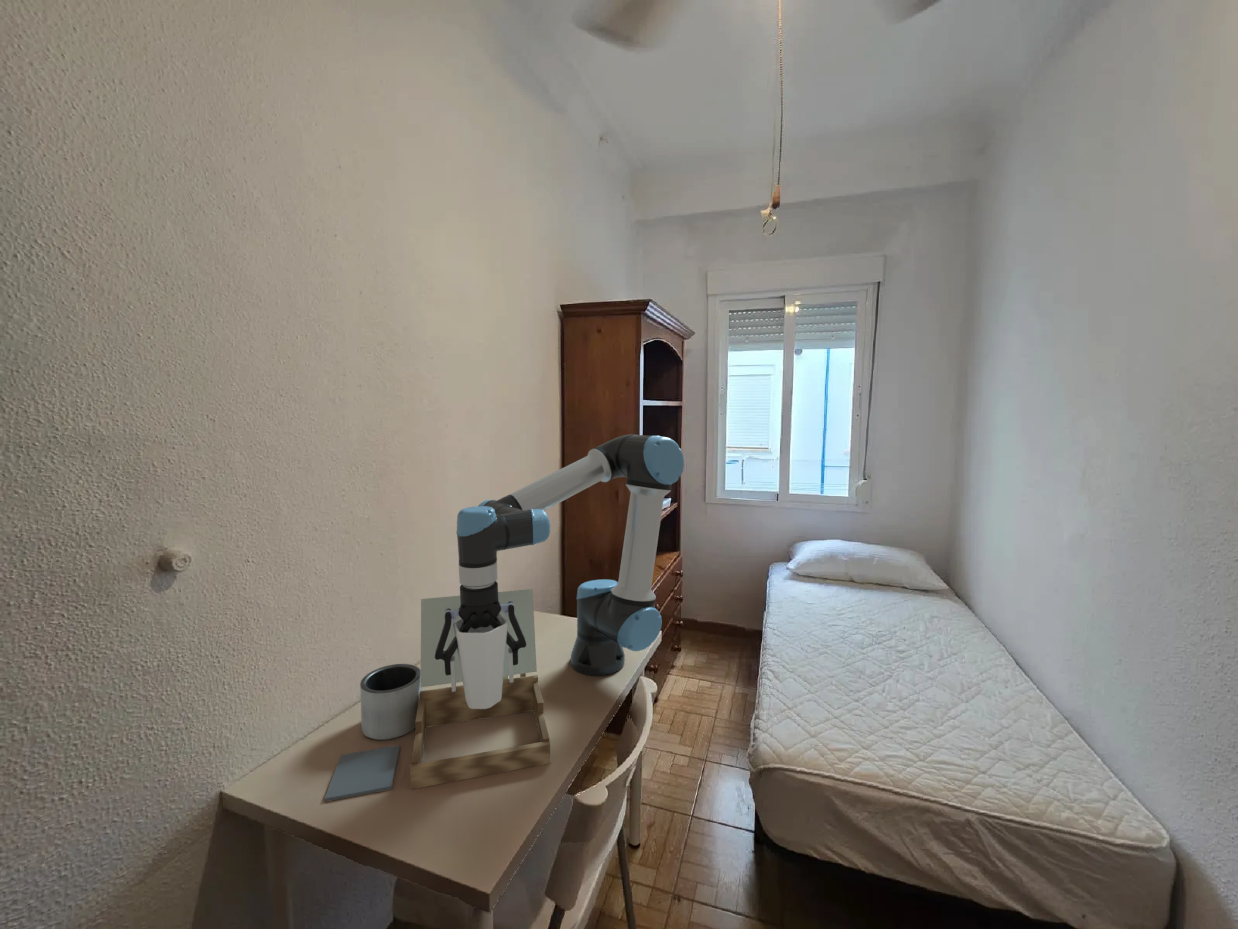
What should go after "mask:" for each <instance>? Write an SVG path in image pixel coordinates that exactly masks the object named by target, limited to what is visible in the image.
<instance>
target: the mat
mask: <svg viewBox="0 0 1238 929" xmlns="http://www.w3.org/2000/svg"><path fill="white" fill-rule="evenodd" d="M400 750H401V746H400V745H399V744H398V745H394V746H387V747H386V746H385V747H380V748H374V749H373V748H372V749H369V750H363V751H356V752H349V753H344V754H341V755H340V757H339V759H338V763H337V764H336V767H335V770H334V772H333V776H332V777H331V780H330V783H329V786H328V789H327V791H326V794H325V797H324V802H325V801H326V802H330V801H329V800H331V801H335V800H340V799H346V798H352V797H357V796H362V795H363V796H364V795H368V794H373V793H378V792H383V791H390V790H392V787H393V782H394V778H395V775H396V774H395V773H396V769H397V768H396V767H397V763H398V759H399V754H400Z"/></svg>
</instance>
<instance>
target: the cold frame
mask: <svg viewBox="0 0 1238 929" xmlns="http://www.w3.org/2000/svg"><path fill="white" fill-rule="evenodd" d="M519 675H520V676H519V677H513V682H512V683H510V680H509V678H508V679H504V680H503V685H502V697H501V700H500V701H499V702H498V703H496V704H495V705H493V706H492V707H490V708H487V709H471V708H469V707H468V704H467V702H466V698H465V692H464V687H463V684H461V685H456V691H455V692H452V686H448V687H440V688H434V689H426V690H425V689H424V690H422V691H420V693H419V698H420V699H419V704H418V710H417V715H416V721H415V736H414V742H413V747H412V748H413V749H412V754H411V755H412V756H411V758H410V769H409V770H410V789H411V790H414V789H415V790H416V789H419V788H420V789H421V788H425V787H432V786H436V785H441V784H447V783H451V782H452V783H453V782H457V781H458V782H459V781H463V780H468V779H474V778H478V777H485V776H490V775H495V774H500V773H505V772H511V771H515V770H522V769H526V768H531V767H537V766H542V765H547V764H551V741H550V736H549V731H548V726H547V723H546V718H545V714H544V700H543V696H542V692H541V688H540V684H539V675H538V674H534V675H528V676H527V673H523V674H519ZM526 712H533V716H534V721H535V725H536V731H537V734H538V738H539V742H535V743H528V744H524V745H523V744H522V745H517V746H511V747H506V748H500V749H495V750H493V749H492V750H488V751H483V752H477V753H472V754H465V755H461V756H460V755H459V756H456V757H449V758H444V759H438V760H433V761H432V760H431V761H426V762H423V754H424V747H425V740H426V732H427V728H431V727H438V726H444V725H451V724H457V723H461V722H463V723H464V722H468V721H475V720H481V719H486V718H487V719H488V718H494V717H501V716H506V715H507V716H508V715H512V714H519V713H526Z"/></svg>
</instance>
